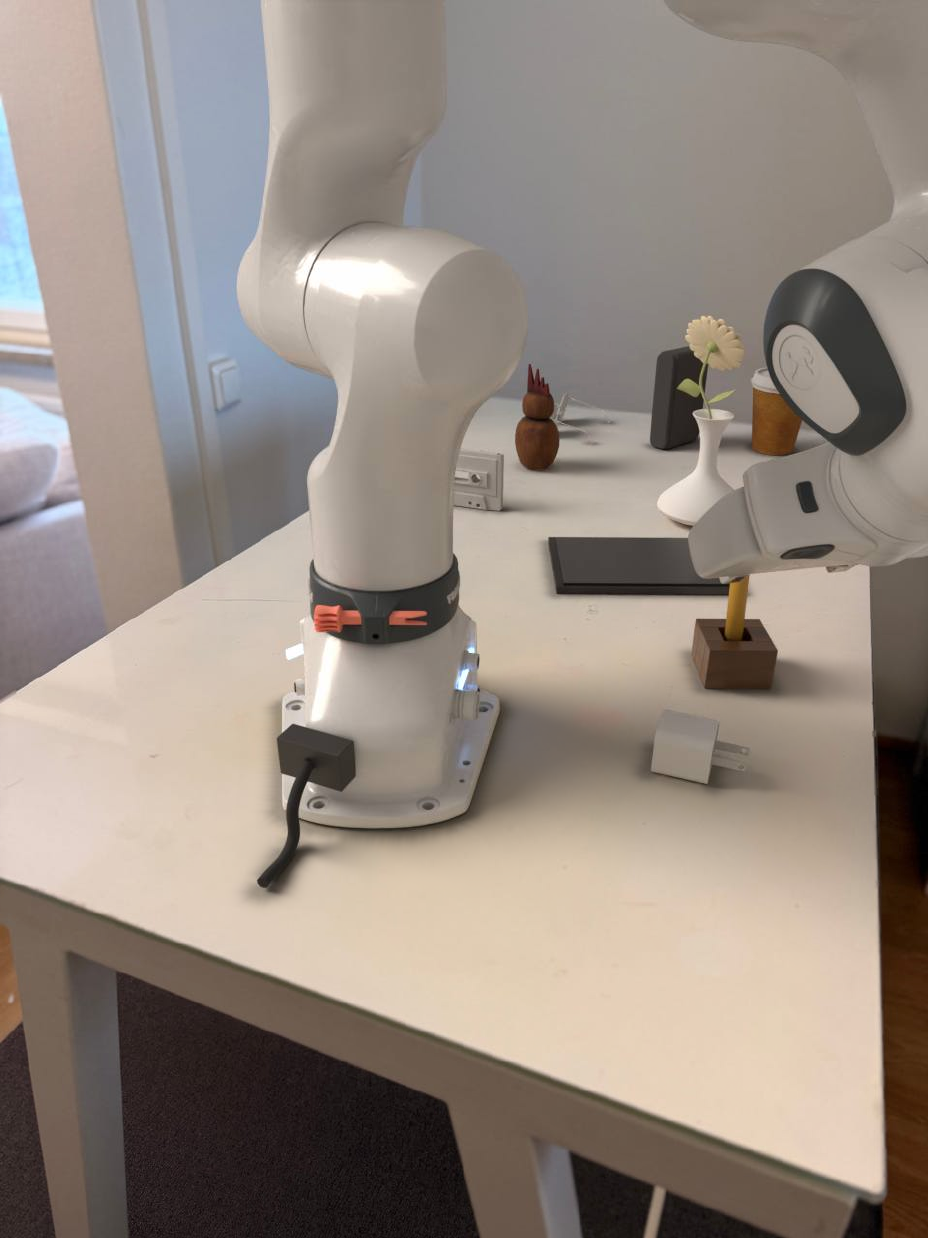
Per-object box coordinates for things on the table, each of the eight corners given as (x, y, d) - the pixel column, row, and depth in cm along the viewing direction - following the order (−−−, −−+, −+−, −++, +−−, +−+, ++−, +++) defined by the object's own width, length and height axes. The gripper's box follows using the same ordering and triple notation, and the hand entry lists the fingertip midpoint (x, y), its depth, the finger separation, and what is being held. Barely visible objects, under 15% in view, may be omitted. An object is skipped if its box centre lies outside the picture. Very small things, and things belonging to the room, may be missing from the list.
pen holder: (771, 689, 82) (778, 650, 80) (704, 688, 82) (709, 650, 80) (753, 655, 87) (759, 618, 85) (690, 654, 87) (695, 618, 85)
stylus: (741, 675, 83) (759, 517, 78) (722, 675, 83) (739, 517, 78) (736, 667, 85) (753, 512, 80) (718, 667, 85) (734, 512, 80)
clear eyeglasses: (563, 417, 160) (569, 390, 158) (608, 429, 158) (615, 401, 156) (541, 439, 149) (547, 410, 146) (590, 452, 147) (597, 423, 144)
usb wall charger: (659, 746, 74) (664, 705, 72) (747, 765, 72) (754, 723, 70) (650, 775, 71) (655, 733, 69) (741, 796, 68) (749, 753, 66)
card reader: (681, 435, 151) (692, 342, 144) (701, 440, 148) (713, 346, 141) (645, 445, 146) (654, 350, 138) (665, 451, 143) (675, 355, 136)
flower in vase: (763, 527, 115) (797, 324, 103) (688, 540, 111) (714, 331, 100) (703, 494, 126) (728, 306, 114) (632, 505, 122) (650, 312, 110)
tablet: (740, 594, 98) (741, 586, 98) (556, 593, 99) (556, 585, 98) (711, 543, 111) (712, 536, 110) (548, 542, 111) (548, 535, 110)
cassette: (504, 507, 121) (505, 452, 118) (499, 512, 120) (500, 456, 116) (423, 496, 125) (421, 442, 122) (417, 500, 124) (416, 446, 120)
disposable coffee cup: (810, 446, 145) (823, 370, 139) (794, 462, 138) (808, 383, 132) (751, 437, 150) (762, 363, 144) (733, 452, 143) (744, 375, 137)
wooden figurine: (508, 462, 138) (510, 363, 131) (541, 457, 140) (545, 359, 133) (529, 475, 133) (533, 372, 126) (563, 470, 135) (569, 368, 128)
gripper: (998, 444, 63) (883, 522, 77) (728, 465, 60) (656, 543, 73) (1026, 527, 62) (904, 592, 75) (750, 554, 58) (673, 617, 71)
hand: (780, 568), depth 74 cm, fingers open, 8 cm apart
